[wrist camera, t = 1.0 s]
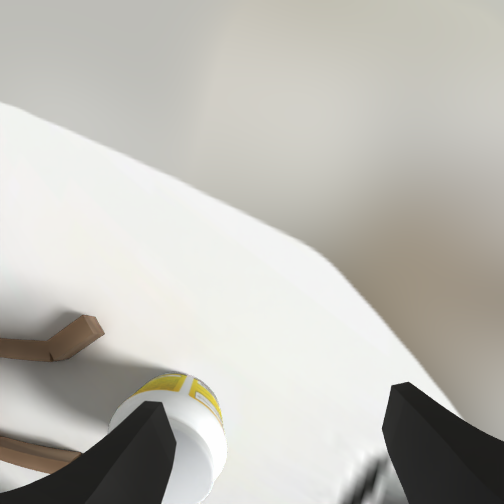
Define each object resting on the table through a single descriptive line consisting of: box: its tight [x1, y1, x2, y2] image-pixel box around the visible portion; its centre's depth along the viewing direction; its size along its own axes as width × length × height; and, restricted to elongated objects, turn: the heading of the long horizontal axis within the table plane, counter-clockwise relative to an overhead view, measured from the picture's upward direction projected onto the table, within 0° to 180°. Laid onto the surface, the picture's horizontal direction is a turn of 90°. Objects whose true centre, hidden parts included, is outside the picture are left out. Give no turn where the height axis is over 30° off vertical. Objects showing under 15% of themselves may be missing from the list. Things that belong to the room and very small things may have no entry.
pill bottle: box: [108, 372, 227, 504], centre depth 15 cm, size 6×6×11 cm
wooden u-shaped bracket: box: [0, 315, 105, 474], centre depth 17 cm, size 15×15×2 cm
